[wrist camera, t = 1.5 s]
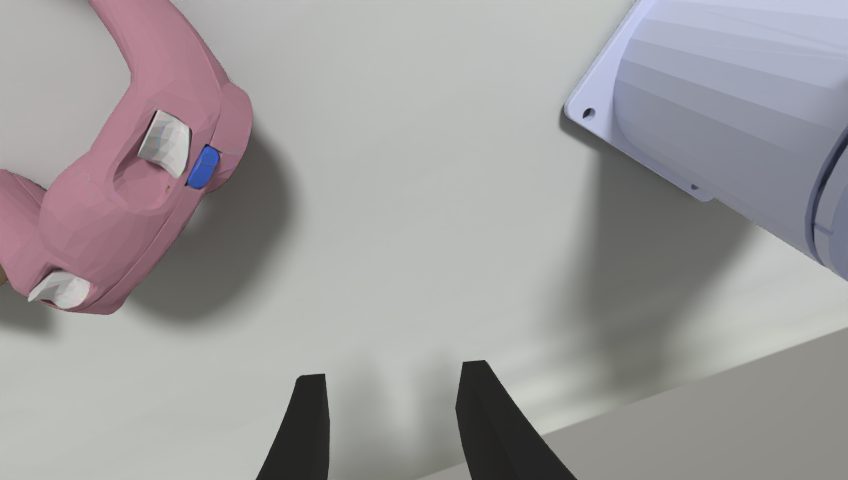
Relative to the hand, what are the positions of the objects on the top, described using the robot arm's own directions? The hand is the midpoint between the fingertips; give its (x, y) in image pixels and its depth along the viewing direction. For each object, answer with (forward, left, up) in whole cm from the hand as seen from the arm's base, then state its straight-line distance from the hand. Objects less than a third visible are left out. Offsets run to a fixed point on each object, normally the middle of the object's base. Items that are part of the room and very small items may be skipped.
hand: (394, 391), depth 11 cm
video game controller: (+10, 0, -9) cm, 13 cm away
